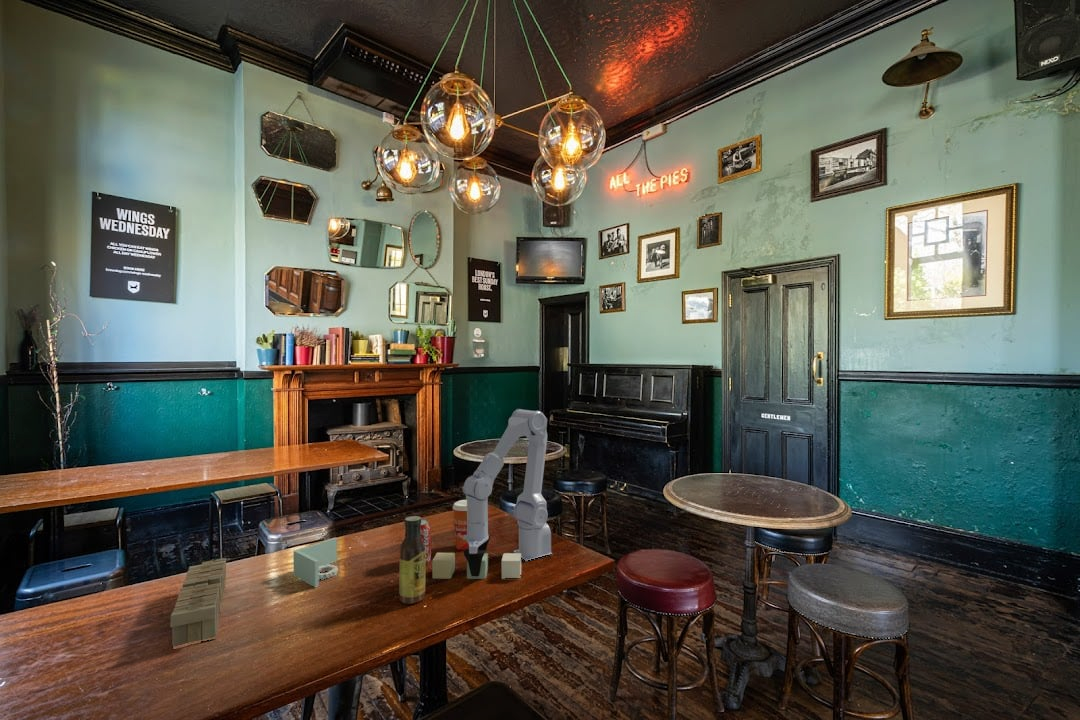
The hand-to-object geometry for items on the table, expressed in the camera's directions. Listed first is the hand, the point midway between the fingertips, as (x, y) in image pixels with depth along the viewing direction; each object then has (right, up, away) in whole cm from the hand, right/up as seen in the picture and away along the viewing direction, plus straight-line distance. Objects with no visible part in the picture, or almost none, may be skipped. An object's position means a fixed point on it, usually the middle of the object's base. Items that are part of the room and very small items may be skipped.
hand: (477, 569), depth 128 cm
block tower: (-62, -2, -20) cm, 65 cm away
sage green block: (0, -2, 0) cm, 2 cm away
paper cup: (-7, -2, +19) cm, 20 cm away
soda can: (-18, -2, +8) cm, 20 cm away
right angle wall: (-42, -2, +1) cm, 43 cm away
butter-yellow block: (-9, -2, 0) cm, 10 cm away
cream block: (+9, -2, 0) cm, 10 cm away
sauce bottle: (-14, -2, -13) cm, 20 cm away
